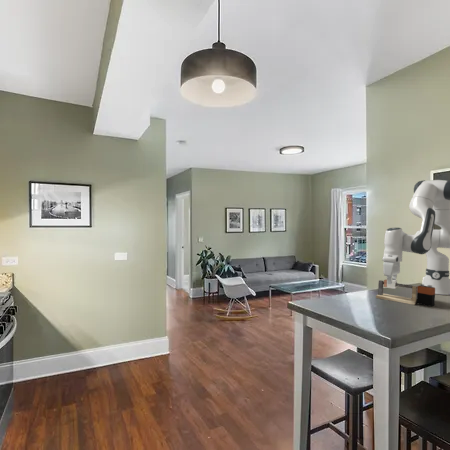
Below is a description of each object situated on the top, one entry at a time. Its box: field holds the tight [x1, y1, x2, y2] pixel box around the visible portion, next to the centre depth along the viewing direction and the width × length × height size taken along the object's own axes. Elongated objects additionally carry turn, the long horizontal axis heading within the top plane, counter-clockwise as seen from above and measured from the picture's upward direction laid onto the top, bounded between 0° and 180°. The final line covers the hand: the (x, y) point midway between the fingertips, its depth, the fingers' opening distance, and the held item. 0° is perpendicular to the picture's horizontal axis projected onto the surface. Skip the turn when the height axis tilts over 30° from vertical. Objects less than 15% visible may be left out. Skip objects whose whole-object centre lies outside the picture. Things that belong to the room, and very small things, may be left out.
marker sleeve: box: [386, 279, 398, 289], centre depth 165 cm, size 4×4×4 cm
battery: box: [416, 283, 436, 307], centre depth 156 cm, size 4×7×10 cm, turn 37°
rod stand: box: [375, 279, 418, 306], centre depth 164 cm, size 10×18×10 cm, turn 49°
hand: (391, 282), depth 166 cm, fingers open, 8 cm apart
